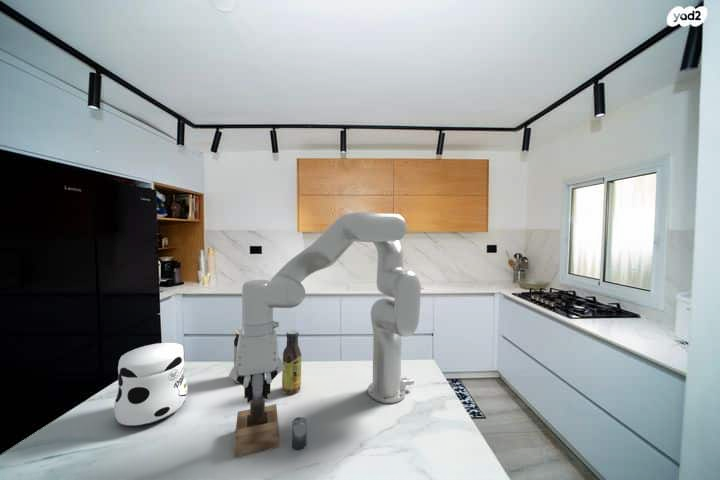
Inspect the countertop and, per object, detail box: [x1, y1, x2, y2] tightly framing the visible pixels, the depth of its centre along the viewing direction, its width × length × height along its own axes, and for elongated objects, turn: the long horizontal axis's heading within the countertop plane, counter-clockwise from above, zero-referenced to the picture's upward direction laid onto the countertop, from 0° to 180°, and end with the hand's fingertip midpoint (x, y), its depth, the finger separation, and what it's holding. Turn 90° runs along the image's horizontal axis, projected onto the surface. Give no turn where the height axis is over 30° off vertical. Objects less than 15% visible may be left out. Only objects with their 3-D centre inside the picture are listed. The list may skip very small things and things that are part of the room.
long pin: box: [249, 373, 266, 418], centre depth 73 cm, size 4×4×12 cm
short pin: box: [291, 416, 308, 451], centre depth 71 cm, size 4×4×6 cm
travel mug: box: [233, 327, 250, 384], centre depth 103 cm, size 8×8×18 cm
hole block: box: [234, 404, 280, 458], centre depth 73 cm, size 10×10×5 cm
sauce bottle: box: [281, 329, 302, 395], centre depth 95 cm, size 7×6×20 cm
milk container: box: [113, 342, 188, 427], centre depth 83 cm, size 17×17×18 cm
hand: (257, 397), depth 73 cm, fingers closed on long pin, 3 cm apart
